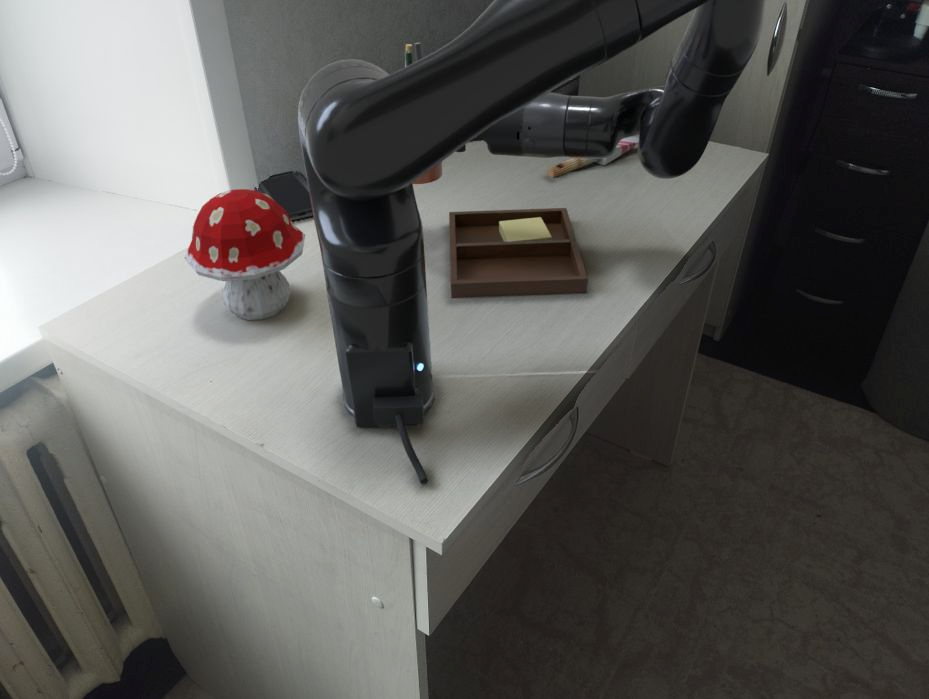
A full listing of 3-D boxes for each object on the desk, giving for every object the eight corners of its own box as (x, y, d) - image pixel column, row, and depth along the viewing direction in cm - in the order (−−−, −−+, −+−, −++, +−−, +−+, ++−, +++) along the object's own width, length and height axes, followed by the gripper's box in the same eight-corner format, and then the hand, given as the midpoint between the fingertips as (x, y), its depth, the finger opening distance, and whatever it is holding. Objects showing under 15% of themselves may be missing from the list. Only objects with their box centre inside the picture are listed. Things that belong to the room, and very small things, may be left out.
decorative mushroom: (305, 267, 100) (286, 160, 91) (327, 323, 89) (308, 208, 80) (197, 289, 96) (165, 180, 87) (206, 350, 86) (172, 233, 76)
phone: (298, 169, 122) (328, 205, 112) (299, 175, 123) (329, 212, 112) (250, 179, 120) (276, 217, 109) (252, 186, 120) (277, 224, 110)
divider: (569, 255, 100) (570, 242, 98) (456, 259, 99) (456, 246, 98) (568, 252, 100) (569, 239, 99) (456, 256, 100) (456, 243, 99)
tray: (586, 296, 93) (587, 278, 91) (451, 300, 92) (450, 283, 91) (565, 223, 108) (566, 207, 106) (449, 227, 108) (449, 211, 106)
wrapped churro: (647, 133, 126) (557, 169, 117) (645, 148, 128) (557, 185, 119) (630, 126, 129) (541, 161, 120) (629, 141, 130) (541, 177, 122)
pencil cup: (442, 183, 95) (435, 49, 86) (396, 185, 95) (384, 51, 86) (442, 164, 100) (435, 36, 90) (398, 166, 100) (387, 38, 90)
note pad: (551, 246, 101) (552, 237, 101) (508, 251, 101) (508, 241, 100) (540, 226, 106) (541, 216, 105) (499, 230, 106) (499, 221, 105)
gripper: (540, 74, 93) (411, 68, 97) (519, 114, 82) (374, 106, 86) (538, 132, 98) (415, 125, 101) (518, 178, 87) (380, 168, 90)
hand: (397, 116), depth 94 cm, fingers closed on pencil cup, 6 cm apart
